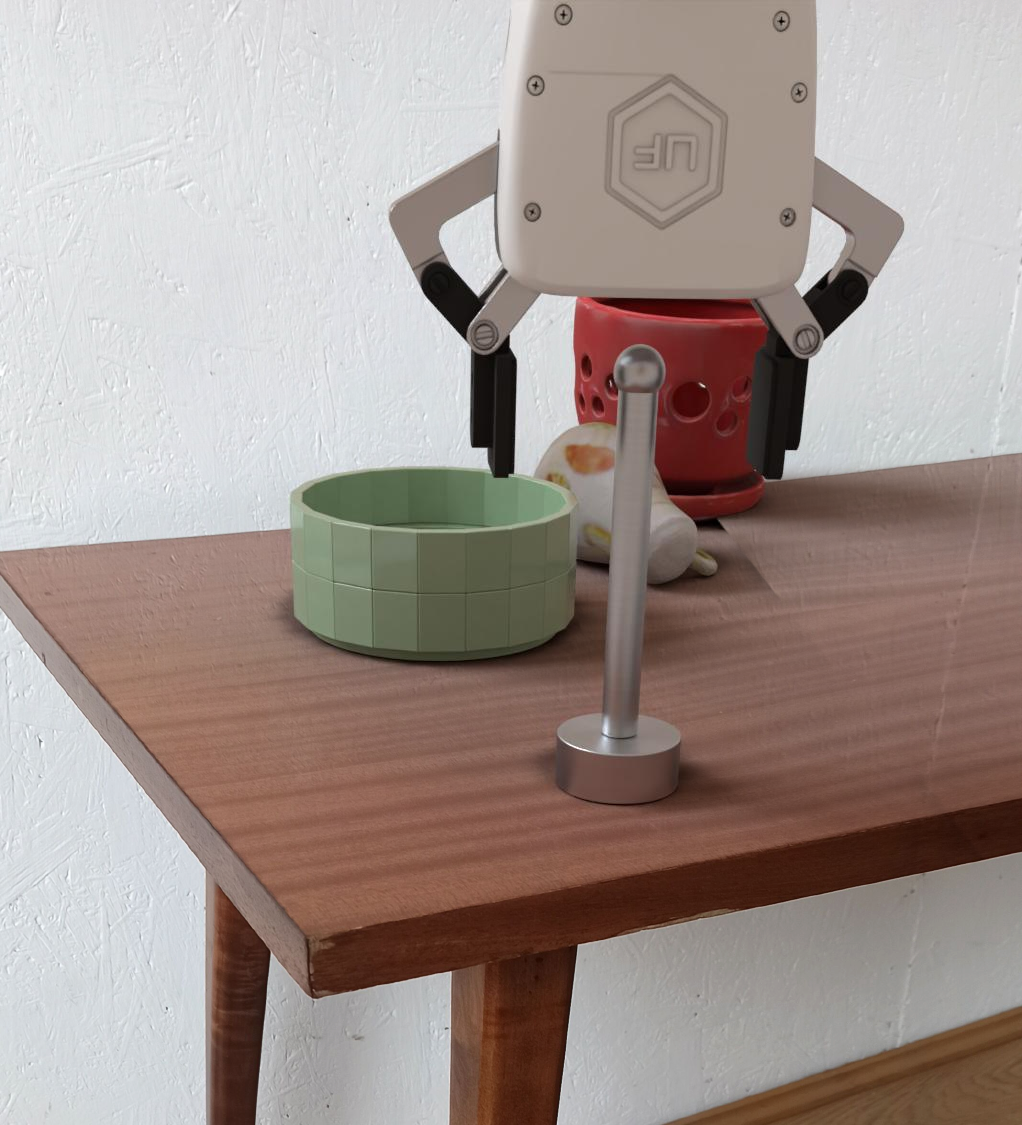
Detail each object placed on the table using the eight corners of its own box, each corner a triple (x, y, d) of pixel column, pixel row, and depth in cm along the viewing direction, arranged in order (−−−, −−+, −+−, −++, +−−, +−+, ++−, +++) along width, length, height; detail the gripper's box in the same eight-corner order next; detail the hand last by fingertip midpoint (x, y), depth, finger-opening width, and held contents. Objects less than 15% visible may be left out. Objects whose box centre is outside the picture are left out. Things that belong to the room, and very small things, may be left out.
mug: (640, 607, 90) (562, 418, 88) (563, 642, 99) (491, 471, 97) (755, 554, 93) (682, 368, 90) (670, 593, 102) (601, 425, 99)
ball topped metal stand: (666, 759, 71) (697, 334, 63) (687, 803, 67) (723, 356, 59) (549, 760, 71) (563, 333, 62) (562, 805, 67) (580, 355, 58)
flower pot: (537, 520, 105) (544, 301, 99) (603, 476, 116) (613, 275, 109) (752, 544, 101) (773, 317, 95) (799, 496, 112) (821, 290, 106)
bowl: (555, 584, 93) (559, 466, 90) (588, 664, 82) (594, 532, 78) (296, 585, 92) (291, 465, 89) (293, 666, 80) (287, 532, 77)
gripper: (387, -133, 50) (393, 493, 59) (980, -110, 51) (898, 496, 60) (380, -115, 56) (386, 447, 65) (908, -96, 58) (843, 451, 67)
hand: (632, 470), depth 63 cm, fingers open, 9 cm apart
